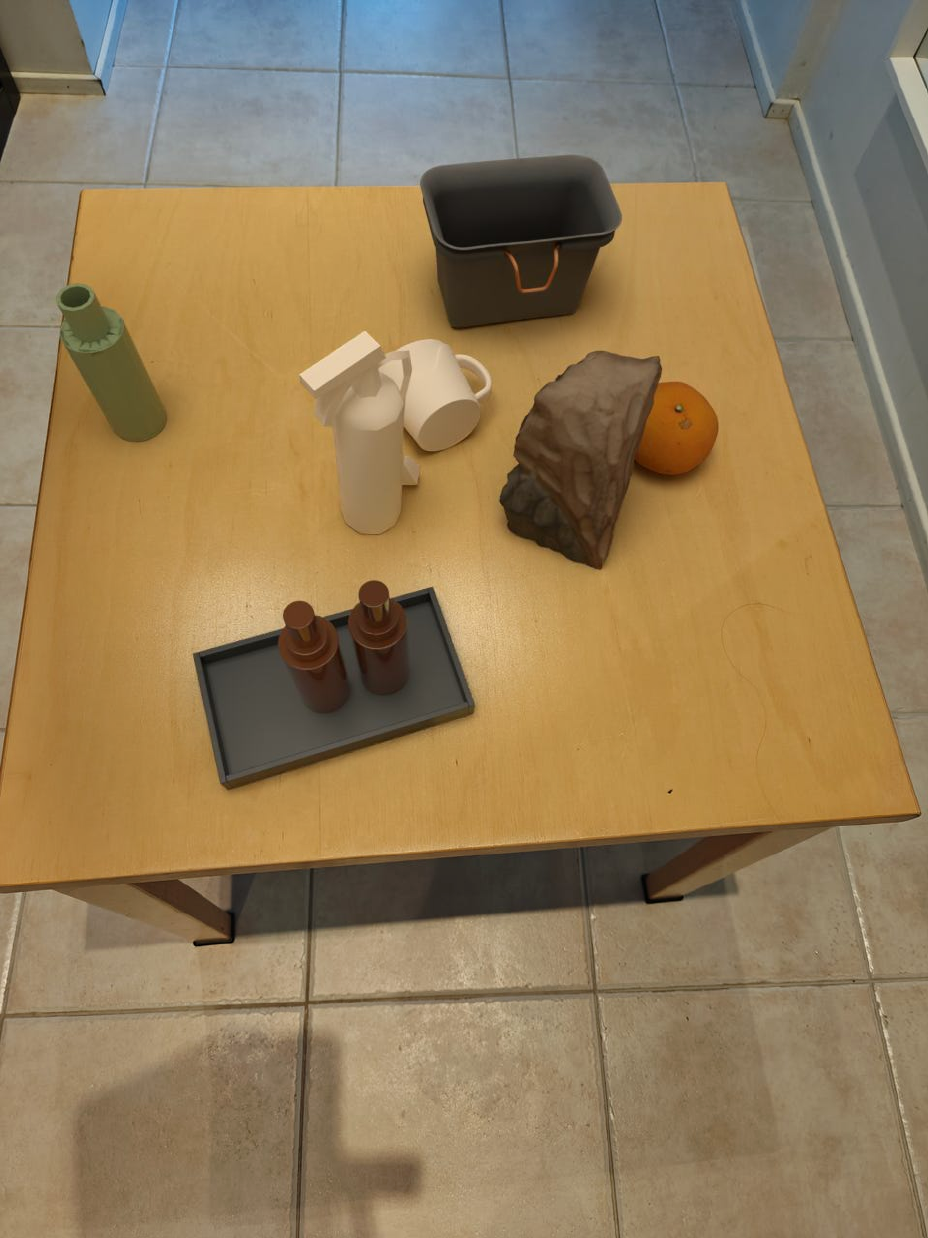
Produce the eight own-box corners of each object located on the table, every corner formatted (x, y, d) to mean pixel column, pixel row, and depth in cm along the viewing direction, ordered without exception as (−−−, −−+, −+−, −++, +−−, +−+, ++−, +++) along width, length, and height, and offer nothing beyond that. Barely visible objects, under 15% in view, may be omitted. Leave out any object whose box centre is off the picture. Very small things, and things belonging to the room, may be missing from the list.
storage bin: (574, 250, 103) (595, 146, 90) (608, 339, 97) (636, 241, 84) (416, 270, 101) (414, 166, 88) (440, 362, 95) (443, 265, 82)
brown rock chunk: (491, 529, 85) (509, 409, 67) (536, 444, 90) (563, 311, 72) (599, 574, 84) (647, 463, 65) (638, 485, 89) (693, 359, 70)
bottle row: (306, 720, 75) (273, 652, 59) (293, 673, 77) (259, 595, 61) (416, 687, 77) (413, 612, 61) (401, 642, 79) (395, 558, 63)
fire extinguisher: (442, 498, 87) (448, 330, 64) (353, 557, 83) (326, 401, 60) (405, 458, 89) (398, 281, 66) (317, 514, 85) (277, 347, 62)
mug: (411, 463, 88) (410, 418, 81) (375, 404, 92) (370, 355, 84) (503, 425, 91) (510, 378, 84) (465, 369, 94) (468, 319, 87)
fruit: (629, 494, 88) (648, 450, 81) (604, 419, 92) (619, 372, 85) (716, 480, 89) (742, 436, 82) (687, 407, 94) (709, 359, 86)
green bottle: (116, 447, 88) (45, 326, 71) (108, 406, 90) (37, 280, 73) (170, 434, 89) (112, 313, 72) (161, 394, 91) (103, 267, 74)
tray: (227, 790, 73) (220, 784, 70) (200, 663, 78) (192, 653, 75) (473, 713, 77) (475, 705, 74) (432, 598, 82) (433, 586, 79)
